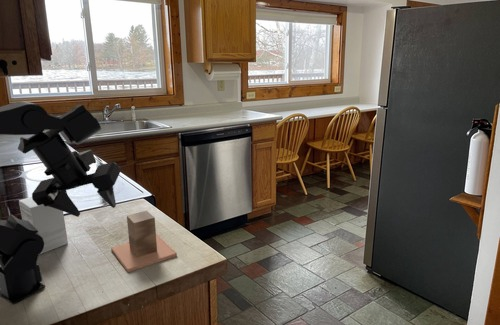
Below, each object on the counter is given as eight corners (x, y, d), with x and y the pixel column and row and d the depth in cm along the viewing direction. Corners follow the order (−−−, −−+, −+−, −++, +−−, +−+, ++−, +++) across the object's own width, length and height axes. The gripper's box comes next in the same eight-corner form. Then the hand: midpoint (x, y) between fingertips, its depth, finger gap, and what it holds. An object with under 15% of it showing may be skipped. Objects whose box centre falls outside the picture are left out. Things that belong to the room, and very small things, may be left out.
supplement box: (55, 235, 99) (48, 191, 96) (68, 244, 95) (62, 198, 91) (26, 245, 94) (17, 199, 90) (38, 255, 89) (30, 207, 86)
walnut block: (137, 257, 87) (134, 223, 85) (129, 249, 91) (126, 215, 89) (157, 251, 90) (154, 217, 88) (149, 243, 94) (146, 210, 91)
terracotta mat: (128, 272, 83) (127, 269, 82) (111, 250, 92) (111, 247, 92) (176, 255, 90) (176, 252, 89) (156, 236, 99) (156, 234, 99)
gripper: (109, 126, 81) (141, 179, 89) (36, 147, 84) (74, 197, 92) (92, 154, 72) (130, 211, 80) (10, 177, 75) (55, 229, 83)
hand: (96, 210), depth 84 cm, fingers open, 9 cm apart
